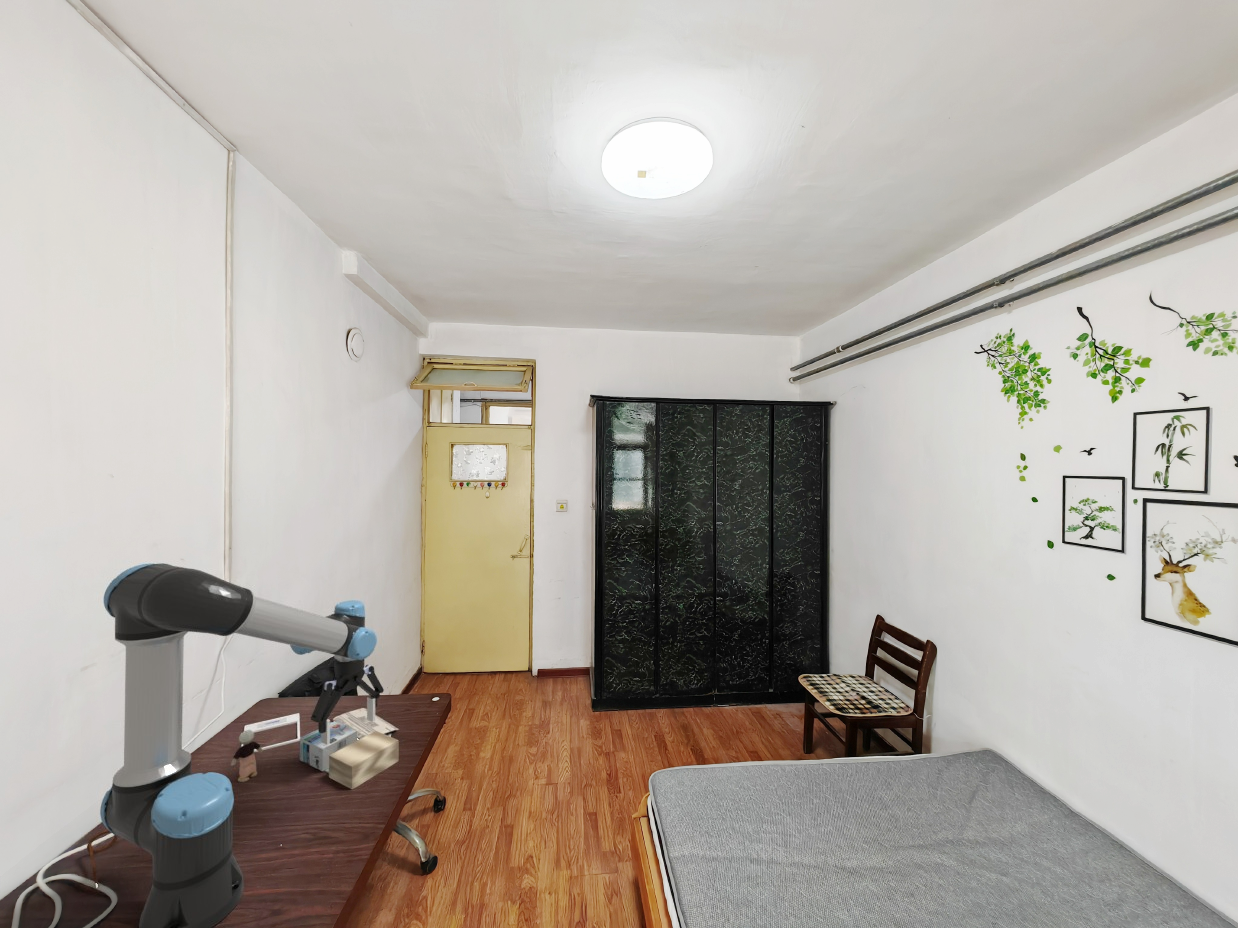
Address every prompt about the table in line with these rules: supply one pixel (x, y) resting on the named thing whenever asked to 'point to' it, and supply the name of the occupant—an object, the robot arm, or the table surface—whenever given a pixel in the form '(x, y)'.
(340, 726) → the light bulb box
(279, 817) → the table surface
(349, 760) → the beech step
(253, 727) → the photo frame
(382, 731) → the newspaper
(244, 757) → the grandmother figurine
